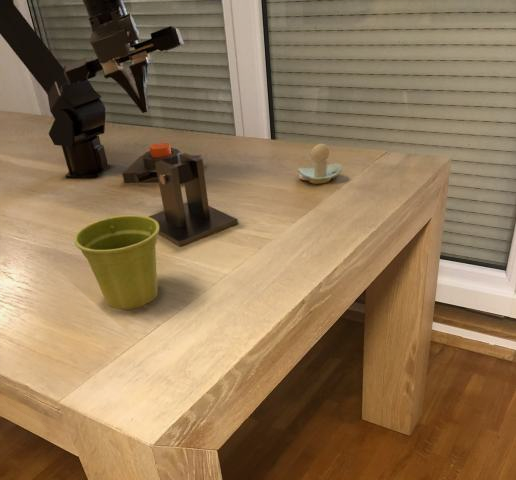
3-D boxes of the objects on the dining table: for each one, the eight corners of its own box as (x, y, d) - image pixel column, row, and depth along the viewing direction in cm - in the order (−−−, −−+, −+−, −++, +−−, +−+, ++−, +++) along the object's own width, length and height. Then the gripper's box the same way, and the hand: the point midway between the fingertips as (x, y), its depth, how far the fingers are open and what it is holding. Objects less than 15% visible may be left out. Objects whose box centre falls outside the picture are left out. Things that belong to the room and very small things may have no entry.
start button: (148, 159, 99) (146, 149, 98) (155, 152, 102) (153, 142, 101) (167, 159, 98) (166, 149, 97) (174, 152, 101) (172, 142, 100)
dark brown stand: (141, 226, 85) (127, 161, 79) (197, 206, 89) (187, 143, 84) (180, 249, 78) (167, 180, 72) (238, 226, 82) (231, 159, 76)
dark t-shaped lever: (137, 187, 86) (132, 171, 85) (168, 176, 88) (163, 161, 87) (170, 187, 77) (165, 169, 76) (204, 176, 79) (199, 159, 78)
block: (124, 185, 100) (119, 162, 97) (142, 167, 107) (138, 146, 105) (189, 185, 97) (185, 162, 95) (203, 167, 104) (200, 145, 102)
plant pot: (99, 282, 72) (81, 218, 67) (173, 274, 72) (161, 210, 67) (87, 323, 64) (66, 255, 59) (170, 314, 64) (156, 245, 59)
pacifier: (293, 177, 97) (302, 188, 92) (291, 139, 93) (300, 149, 88) (334, 171, 98) (345, 182, 93) (334, 134, 94) (345, 142, 89)
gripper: (31, 26, 80) (80, 137, 87) (154, -21, 77) (194, 98, 84) (55, 27, 89) (97, 127, 97) (165, -14, 87) (200, 92, 94)
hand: (145, 112), depth 93 cm, fingers closed
